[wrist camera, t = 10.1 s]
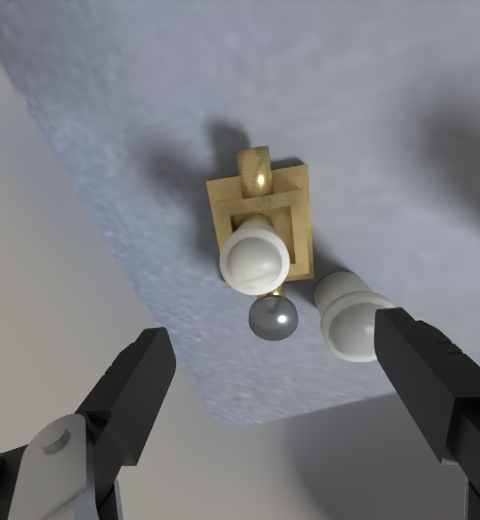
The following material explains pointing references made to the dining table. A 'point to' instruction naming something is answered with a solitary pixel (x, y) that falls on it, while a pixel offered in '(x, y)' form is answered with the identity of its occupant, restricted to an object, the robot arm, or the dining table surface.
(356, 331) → the cylinder
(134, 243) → the dining table surface
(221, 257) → the white mushroom shaped knob
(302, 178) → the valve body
